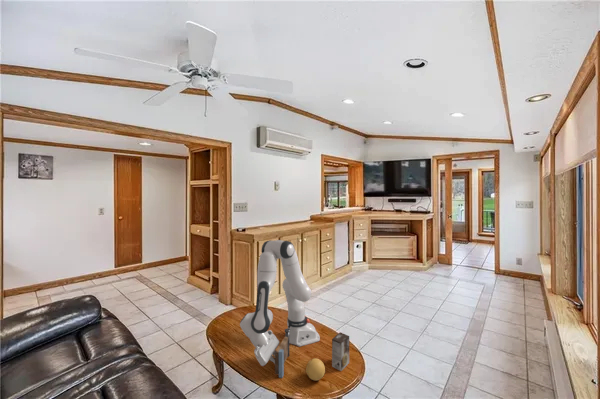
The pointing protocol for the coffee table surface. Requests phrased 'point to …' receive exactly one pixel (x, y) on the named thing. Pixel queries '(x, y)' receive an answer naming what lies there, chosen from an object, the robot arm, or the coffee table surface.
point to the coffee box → (340, 351)
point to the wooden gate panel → (282, 346)
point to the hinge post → (288, 337)
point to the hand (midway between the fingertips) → (277, 361)
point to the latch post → (281, 363)
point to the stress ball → (315, 369)
